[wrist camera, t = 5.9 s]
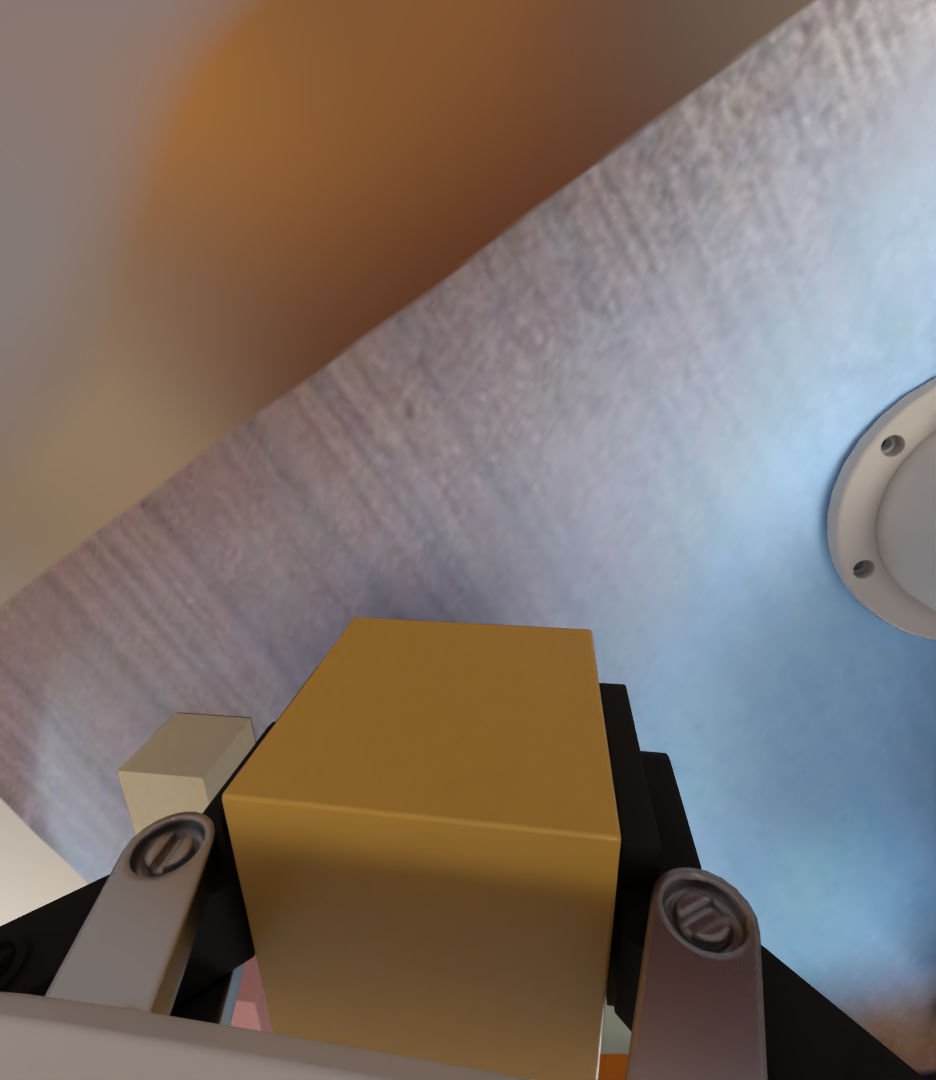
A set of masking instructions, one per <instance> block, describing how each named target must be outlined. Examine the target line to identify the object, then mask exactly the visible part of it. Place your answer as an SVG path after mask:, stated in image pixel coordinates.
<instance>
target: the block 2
mask: <svg viewBox="0 0 936 1080" xmlns="http://www.w3.org/2000/svg"><path fill="white" fill-rule="evenodd" d="M230 1026H234V1027H240V1028H246V1029H252V1030H257V1031H263V1032H269V1033H272V1028H271V1023H270V1019H269V1014H268V1010H267V1005H266V1000H265V996H264V991H263V987H262V982H261V977H260V973H259V968H258V964H257V959H256V954H255V955H254V957H253V958H251V959H250V960H248V961H247V962H245V963H244V970H243V975H242V979H241V983H240V987H239V991H238V996H237V1000H236V1004H235V1008H234V1012H233V1017H232V1021H231V1025H230Z"/></svg>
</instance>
